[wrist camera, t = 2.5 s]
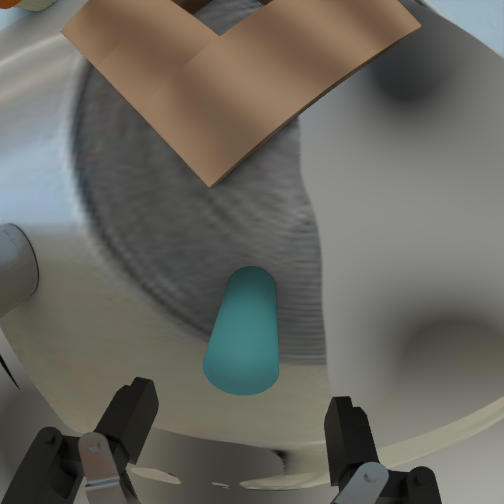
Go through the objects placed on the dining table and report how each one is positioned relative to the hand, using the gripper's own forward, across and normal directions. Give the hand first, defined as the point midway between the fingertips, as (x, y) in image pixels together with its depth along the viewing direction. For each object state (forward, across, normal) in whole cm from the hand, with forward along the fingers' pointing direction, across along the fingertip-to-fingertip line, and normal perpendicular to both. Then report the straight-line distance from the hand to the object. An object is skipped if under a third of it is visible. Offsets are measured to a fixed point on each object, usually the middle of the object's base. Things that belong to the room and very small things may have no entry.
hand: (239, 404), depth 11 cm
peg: (+13, 0, 0) cm, 13 cm away
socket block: (+13, +3, -22) cm, 26 cm away
